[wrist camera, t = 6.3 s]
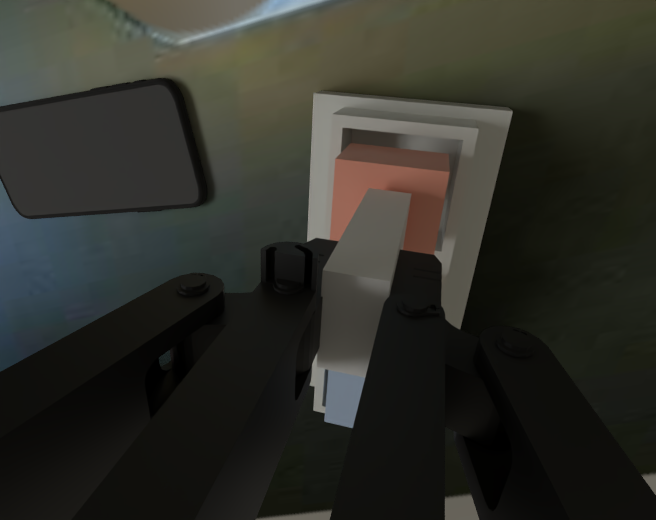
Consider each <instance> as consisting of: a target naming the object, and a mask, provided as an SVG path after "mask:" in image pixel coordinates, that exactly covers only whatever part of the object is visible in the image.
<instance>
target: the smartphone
mask: <svg viewBox="0 0 656 520" xmlns="http://www.w3.org/2000/svg"><path fill="white" fill-rule="evenodd" d="M0 179H1V181H2V183H3V185H4V188H5V190H6V192H7V194H8V196H9V199H10V201H11V203H12V205H13V206H14V208H15V209H16V211H17V212H18V213H19V214H20V215H21V216H23V217H25V218H28V219H38V218H52V217H66V216H80V215H94V214H108V213H122V212H137V211H138V212H150V211H161V210H164V209H178V208H191V207H197V206H200V205H201V204H203V203H204V201H205V200H206V196H207V187H206V182H205V178H204V175H203V171H202V167H201V163H200V159H199V156H198V152H197V148H196V144H195V140H194V137H193V133H192V129H191V125H190V121H189V118H188V114H187V110H186V106H185V102H184V98H183V96H182V94H181V92H180V90H179V88H178V87H177V86H176V84H175V83H174V82H172V81H171V80H168V79H165V78H157V79H151V80H139V81H135V82H134V83H122V84H116V85H112V86H105V87H100V88H94V89H91V90H90V91H84V92H79V93H73V94H68V95H62V96H57V97H51V98H46V99H40V100H34V101H29V102H23V103H18V104H12V105H7V106H1V107H0Z"/></svg>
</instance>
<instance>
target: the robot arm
mask: <svg viewBox="0 0 656 520" xmlns="http://www.w3.org/2000/svg"><path fill="white" fill-rule="evenodd" d="M410 200H411V193H403V192H395V191H388V190H380V189H372V188H368V190H367V192H366V194H365V196H364V197H363V199H362V201H361V203H360V204H359V206H358V208H357V210H356V212H355V213H354V215H353V217H352V219H351V220H350V222H349V224H348V226H347V228H346V229H345V231H344V233H343V235H342V236H341V238H340V240H339V241H334V240H327V239H321V238H315V239H313V240H310V241H308V242H306V243H305V244H302V243H298V242H278V243H273V244H270V245H267V246H265V247H264V248H262V249H261V282H260V284H259V285H258V286H257V287H256V289H255V290H254V291H253V292H251V293H224V284H223V282H222V280H221V279H219V278H217V277H216V276H214V275H209V274H205V273H190V274H186V275H181V276H179V277H176V278H173V279H171V280H169V281H167V282H166V283H164V284H162V285H160V286H158V287H156V288H154V289H153V290H151V291H149V292H147V293H145V294H143V295H142V296H140V297H138V298H136V299H134V300H132V301H130V302H129V303H127V304H125V305H123V306H121V307H119V308H118V309H116V310H114V311H112V312H110V313H108V314H106V315H105V316H103V317H101V318H99V319H97V320H95V321H94V322H92V323H90V324H88V325H86V326H84V327H82V328H81V329H79V330H77V331H75V332H73V333H71V334H70V335H68V336H66V337H64V338H62V339H60V340H58V341H57V342H55V343H53V344H51V345H49V346H47V347H46V348H44V349H42V350H40V351H38V352H36V353H34V354H33V355H31V356H29V357H27V358H25V359H23V360H22V361H20V362H18V363H16V364H14V365H12V366H10V367H9V368H7V369H5V370H3V371H1V372H0V520H255V519H256V516H257V514H258V511H259V509H260V506H261V504H262V502H263V499H264V497H265V494H266V492H267V489H268V487H269V484H270V482H271V479H272V477H273V474H274V472H275V469H276V467H277V464H278V462H279V459H280V457H281V454H282V452H283V449H284V447H285V444H286V442H287V440H288V437H289V435H290V432H291V430H292V427H293V425H294V422H295V420H296V417H297V415H298V412H299V410H300V407H301V405H302V402H303V400H304V397H305V395H306V392H307V390H308V387H309V385H310V382H311V376H312V363H313V361H314V359H315V356H316V354H317V366H316V367H317V368H322V369H327V370H331V371H336V372H341V373H346V374H350V375H355V376H360V377H364V378H365V381H364V385H363V389H362V393H361V397H360V401H359V405H358V409H357V413H356V417H355V421H354V425H353V429H352V433H351V437H350V441H349V445H348V449H347V453H346V457H345V461H344V465H343V469H342V473H341V477H340V481H339V485H338V489H337V493H336V497H335V501H334V505H333V509H332V513H331V517H330V520H445V427H447V428H449V429H451V430H453V431H454V440H455V444H456V447H457V450H458V453H459V457H460V460H461V463H462V466H463V469H464V472H465V475H466V479H467V482H468V485H469V488H470V491H471V494H472V498H473V500H474V504H475V507H476V510H477V513H478V516H479V520H656V495H655V494H654V492H653V491H652V490H651V488H650V487H649V485H648V484H647V483H646V481H645V480H644V479H643V477H642V476H641V474H640V473H639V472H638V470H637V469H636V467H635V466H634V465H633V463H632V462H631V461H630V459H629V458H628V456H627V455H626V454H625V452H624V451H623V450H622V448H621V447H620V445H619V444H618V443H617V441H616V440H615V439H614V437H613V436H612V434H611V433H610V432H609V430H608V429H607V427H606V426H605V425H604V423H603V422H602V421H601V419H600V418H599V416H598V415H597V414H596V412H595V411H594V410H593V408H592V407H591V405H590V404H589V403H588V401H587V400H586V399H585V397H584V396H583V394H582V393H581V392H580V390H579V389H578V387H577V386H576V385H575V383H574V382H573V381H572V379H571V378H570V376H569V375H568V374H567V372H566V371H565V370H564V368H563V367H562V365H561V364H560V363H559V361H558V360H557V358H556V357H555V356H554V354H553V353H552V352H551V350H550V349H549V347H548V346H547V345H545V344H544V343H543V342H542V341H541V340H540V339H539V338H537V337H535V336H534V335H532V334H530V333H529V332H527V331H524V330H520V329H519V328H515V327H507V326H492V327H489V328H487V329H484V330H483V331H482V333H481V334H480V336H479V337H476V336H474V335H471V334H468V333H466V332H464V331H462V330H459V329H458V328H456V327H455V326H453V325H451V324H450V323H449V322H448V321H447V320H446V319H445V312H444V309H443V307H442V306H441V289H442V282H441V281H442V263H441V262H440V261H439V260H438V258H437V257H436V256H435V255H432V254H426V253H420V252H413V251H407V250H403V245H404V239H405V232H406V226H407V219H408V213H409V206H410ZM168 350H170V356H171V361H170V362H169V363H167V364H166V365H164V366H162V367H160V365H159V357H160V356H161V355H163V354H164V353H166V352H167V351H168Z"/></svg>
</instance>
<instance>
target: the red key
mask: <svg viewBox="0 0 656 520" xmlns="http://www.w3.org/2000/svg"><path fill="white" fill-rule="evenodd" d="M449 173H450V169H449V154H446V153H437V152H428V151H419V150H410V149H401V148H392V147H383V146H374V145H365V144H356V143H350V144H349V145H348V146H347V147H346V148H345V149H344V150H343V151H342V152H341V153H340V154H339V155H338V156H337V157H336V158H335V170H334V184H333V199H332V213H331V228H330V240H334V241H339V240H340V238H341V236H342V235H343V233H344V231H345V229H346V228H347V226H348V224H349V222H350V220H351V219H352V217H353V215H354V213H355V212H356V210H357V208H358V206H359V204H360V203H361V201H362V199H363V197H364V196H365V194H366V192H367V190H368V188H372V189H380V190H388V191H395V192H403V193H411V200H410V206H409V213H408V219H407V226H406V232H405V239H404V245H403V250H407V251H413V252H420V253H426V254H432V255H434V252H435V247H436V242H437V236H438V231H439V226H440V221H441V215H442V210H443V205H444V200H445V194H446V189H447V184H448V179H449Z"/></svg>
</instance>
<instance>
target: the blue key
mask: <svg viewBox="0 0 656 520" xmlns="http://www.w3.org/2000/svg"><path fill="white" fill-rule="evenodd" d="M364 381H365V378H364V377H360V376H355V375H350V374H346V373H341V372H336V371H331V370H328V383H327V395H326V408H325V422H329V423H333V424H338V425H342V426H346V427H350V428H353V425H354V421H355V417H356V413H357V409H358V405H359V401H360V397H361V393H362V389H363V385H364Z"/></svg>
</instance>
